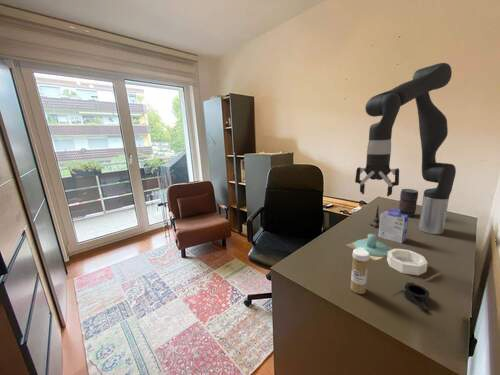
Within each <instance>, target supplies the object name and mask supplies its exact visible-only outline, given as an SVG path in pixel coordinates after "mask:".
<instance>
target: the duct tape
mask: <svg viewBox="0 0 500 375" xmlns="http://www.w3.org/2000/svg"><path fill="white" fill-rule="evenodd" d="M403 297H404V298H405V299H406V300H407V301H409V302H410V303H412V304H415V305H417V306H418V307H419V308H421V309H425V310H428V308H427V306H426V305H428V304H429V299H430V292H429V290H428V289H426V287H423V286H421V285H418V284H416V283H414V282H405V285H404V291H403Z"/></svg>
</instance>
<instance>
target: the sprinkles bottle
mask: <svg viewBox="0 0 500 375" xmlns="http://www.w3.org/2000/svg"><path fill="white" fill-rule="evenodd" d="M352 250H353V251H352V263H351V264H352V265H351V267H352V268H351V275H350V276H351V277H350V279H351V280H350V286H349V287H350V290H351V291H352V292H354V293H355V294H358V295H359V294H361V295H363V294H365V293H366V292H367V291H366V290H367V289H366V288H367V281H368V269H369V260H370V258H369V252H368V251H366V250H364V249H352Z"/></svg>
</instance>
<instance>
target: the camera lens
mask: <svg viewBox="0 0 500 375" xmlns="http://www.w3.org/2000/svg"><path fill="white" fill-rule="evenodd" d="M418 197H419V191H418V190H417V189H413V188H402V189H401V190H400V198H399V206H398V209H401V210H400V214H403V215H408V216H409V218H411V217H412V216H413V217H414V216H415V213H416V210H417V203H418V202H417V201H418V199H419V198H418Z"/></svg>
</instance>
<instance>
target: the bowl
mask: <svg viewBox="0 0 500 375" xmlns="http://www.w3.org/2000/svg"><path fill="white" fill-rule="evenodd" d="M392 249H393V250H390V251H388V254H387V256H386V262H387V263H388V266H389V268H392V269H394V270H395V271H398V272H399V273H401V274H406V275H413V276H421V275H423V274H425V273H427V270H428V261H427V260H426V258H425V256H424V255H421V254H420V253H418V252H415V251H413V250H410V249H403V248H392Z"/></svg>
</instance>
